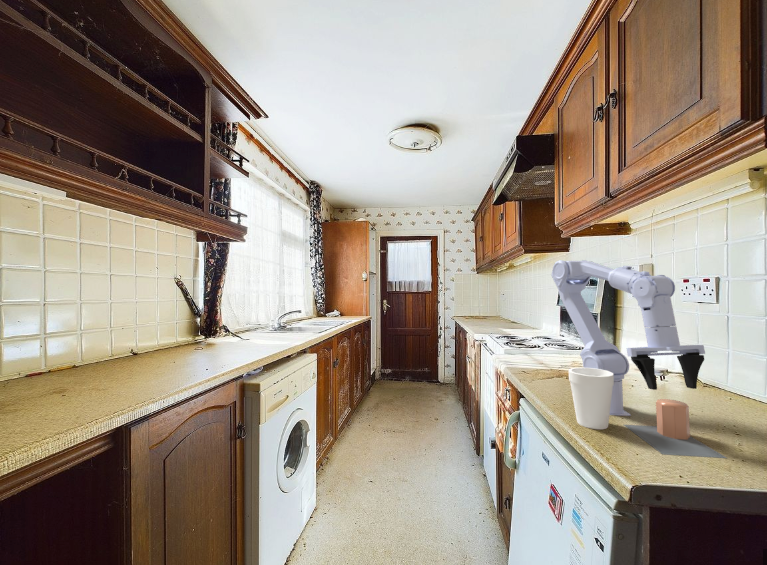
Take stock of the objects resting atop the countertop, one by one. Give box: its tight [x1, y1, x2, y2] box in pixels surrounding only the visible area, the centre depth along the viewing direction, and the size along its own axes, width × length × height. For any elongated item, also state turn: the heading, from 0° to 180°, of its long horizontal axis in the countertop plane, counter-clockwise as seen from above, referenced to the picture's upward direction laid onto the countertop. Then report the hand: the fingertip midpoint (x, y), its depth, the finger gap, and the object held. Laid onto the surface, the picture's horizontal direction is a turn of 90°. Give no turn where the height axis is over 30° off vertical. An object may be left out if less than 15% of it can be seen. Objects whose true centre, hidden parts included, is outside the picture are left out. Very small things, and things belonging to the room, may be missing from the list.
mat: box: [623, 424, 728, 459], centre depth 73 cm, size 15×11×1 cm
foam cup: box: [568, 367, 614, 430], centre depth 82 cm, size 10×9×13 cm
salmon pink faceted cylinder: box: [655, 398, 691, 440], centre depth 76 cm, size 5×5×7 cm
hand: (672, 388), depth 75 cm, fingers open, 7 cm apart
